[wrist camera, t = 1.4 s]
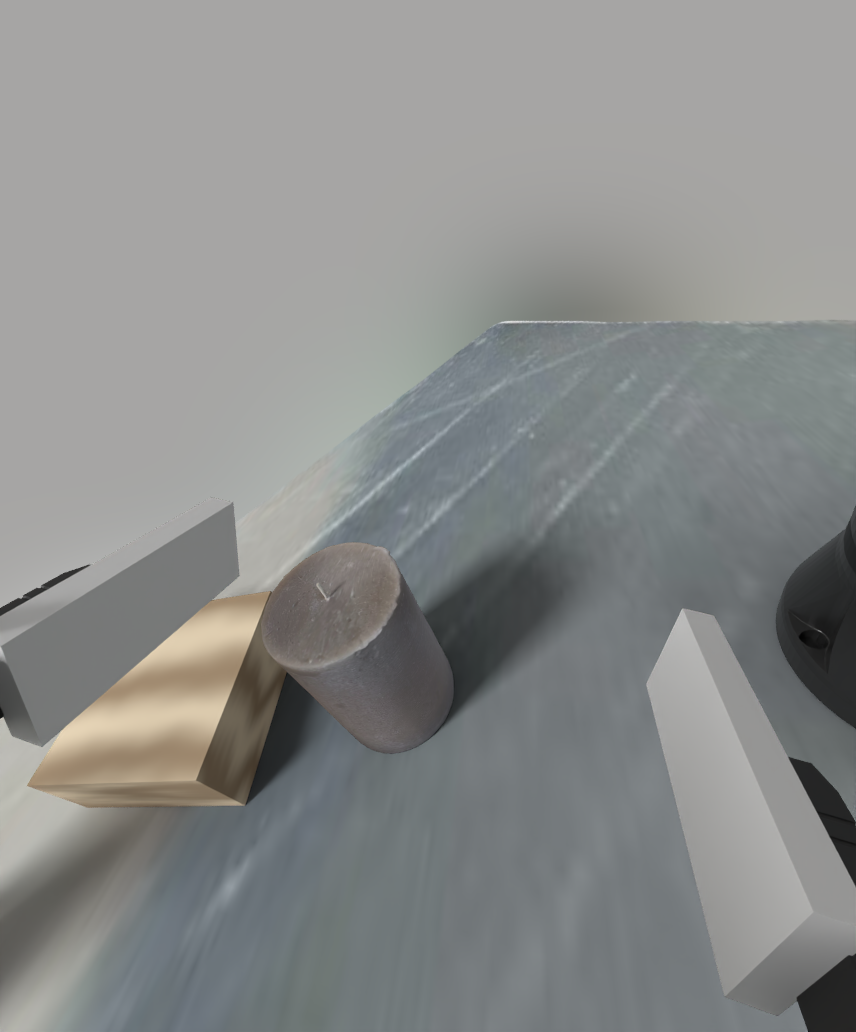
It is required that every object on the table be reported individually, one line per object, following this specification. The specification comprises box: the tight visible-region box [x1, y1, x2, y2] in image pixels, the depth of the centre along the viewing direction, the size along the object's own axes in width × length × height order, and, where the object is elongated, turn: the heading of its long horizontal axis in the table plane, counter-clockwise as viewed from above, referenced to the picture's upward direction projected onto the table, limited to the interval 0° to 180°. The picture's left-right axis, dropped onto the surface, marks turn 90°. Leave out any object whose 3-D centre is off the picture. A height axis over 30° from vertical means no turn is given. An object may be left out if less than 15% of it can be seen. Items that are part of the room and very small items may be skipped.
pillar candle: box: [261, 542, 454, 754], centre depth 32 cm, size 10×10×15 cm
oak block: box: [27, 591, 287, 808], centre depth 40 cm, size 16×16×6 cm
